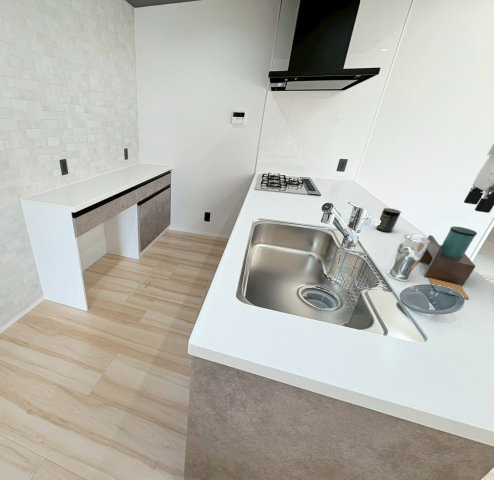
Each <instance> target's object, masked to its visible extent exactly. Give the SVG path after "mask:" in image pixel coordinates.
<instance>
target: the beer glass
mask: <svg viewBox="0 0 494 480" xmlns="http://www.w3.org/2000/svg"><path fill="white" fill-rule="evenodd" d="M429 243H430V240H428V237H427V238H426V237H424V236H423V235H422V236H421V235H417V234H412V233H407V234H405V233H404V235H403V236H402V239H401V240H400V242H399V243H398V246H397V248H396V252H395V256H394V260H393V264H392V266H391V267H390V269H389V270H388V271H387V275H388V276H389V277H391V278H392V279H394V280H396V281H401V282H409V281H410V279H411V275H412V273H413V271H414V269H415V268H416V266H417V265H418V264H419V263H421V262H420V260H421V259H422V258H423V256H424V254H425V252H426V250H427V248H428V245H429Z"/></svg>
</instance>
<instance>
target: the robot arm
mask: <svg viewBox="0 0 494 480" xmlns="http://www.w3.org/2000/svg"><path fill="white" fill-rule="evenodd" d="M486 156H488V158H487V159H486V161H485V162H484V164H483V165H482V167H481V168H480V170H479V172H478V174H477V175H476V177H475V179H474V181H473V183H472V187H471V188H470V190H469V192H468V194H467V195H466V197H465V199H464V200H463V202H464V204H469V205H476V206H475V208H474V211H475V212H480V213H487V214H489V213H491V211H492V209H493V208H494V142H493V144H492V145H491V146H490V148H489V150H488V152H487V154H486ZM482 196H483V197H482Z"/></svg>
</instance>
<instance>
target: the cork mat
mask: <svg viewBox="0 0 494 480" xmlns="http://www.w3.org/2000/svg"><path fill="white" fill-rule="evenodd" d="M428 281H429V283H430V285H431V284H434V285H441V286H445V287H449V288H452V289H454V290H456V291H458V292H459V293H461V294H462V295H463V296H464V298H465V299H464V300H467V301H469V299H470V297H469V295H468V294H467V293H466V291H465V290H464V289H463V286H460V285H456V284H452V283H448V282H444V281H440V280H436V279H432V278H428Z"/></svg>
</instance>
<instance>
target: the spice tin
mask: <svg viewBox="0 0 494 480" xmlns="http://www.w3.org/2000/svg"><path fill="white" fill-rule="evenodd" d="M477 234H478V231H477V232H476V230H473V229H470V228H467V227H461V226H451V227H450V228H449V231H448V233H447V236H446V237H445V239H444V241H443V242H442V244H441V245H442V246H441V248H442V250H443V252H442V253H443V254H445V255H448V256H451V257H456V258H461V257H463V255H464V253H465V254H466V252H467V250H468V249H469V248H470V245H471V244H472V242H473V241H474V238H475V237H476V236H477Z"/></svg>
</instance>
